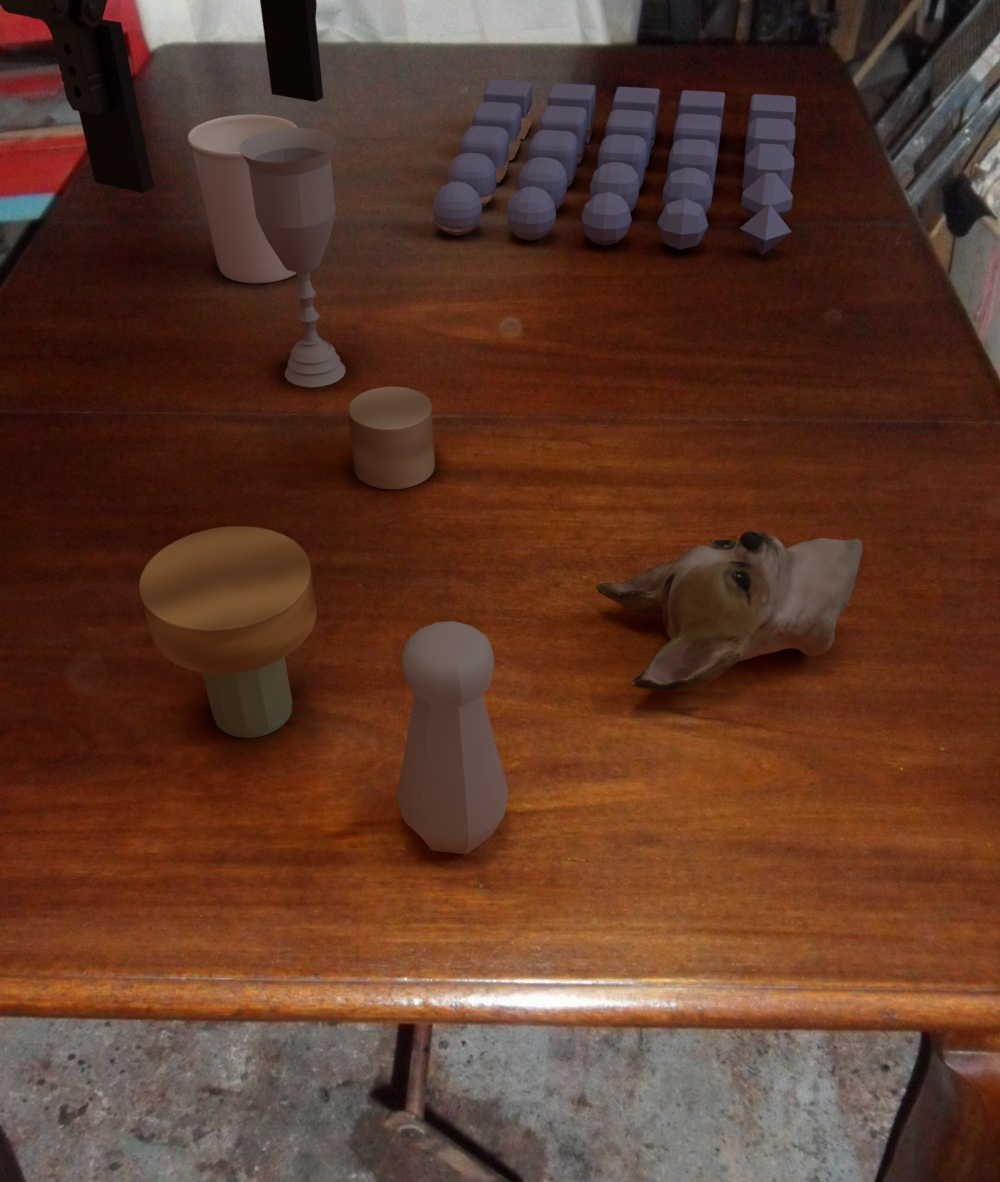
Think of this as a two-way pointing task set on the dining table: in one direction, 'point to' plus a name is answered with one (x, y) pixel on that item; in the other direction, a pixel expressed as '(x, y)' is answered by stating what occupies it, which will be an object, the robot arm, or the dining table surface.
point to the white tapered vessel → (234, 197)
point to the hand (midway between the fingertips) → (217, 138)
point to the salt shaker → (450, 740)
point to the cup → (250, 700)
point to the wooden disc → (229, 599)
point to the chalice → (297, 229)
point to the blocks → (620, 163)
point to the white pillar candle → (392, 437)
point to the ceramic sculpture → (739, 604)
